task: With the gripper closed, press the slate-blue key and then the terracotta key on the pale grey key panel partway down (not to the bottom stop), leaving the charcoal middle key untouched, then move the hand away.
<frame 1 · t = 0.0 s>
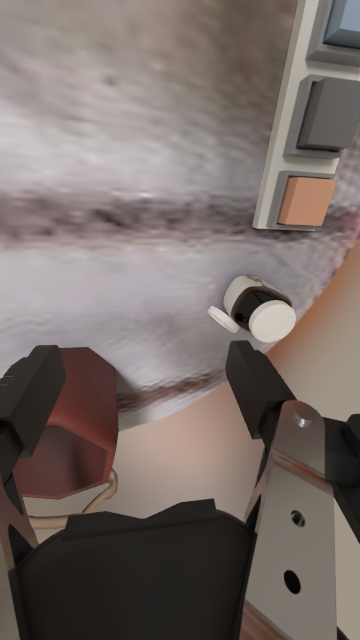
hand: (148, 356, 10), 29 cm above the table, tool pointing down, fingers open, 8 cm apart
spread jar: (236, 299, 43), on the table
terracotta key: (305, 202, 31), point 5 cm above the table, slide at 0.0 cm
bucket: (75, 376, 49), on the table
key panel: (306, 127, 30), on the table
charcoal key: (331, 117, 26), point 5 cm above the table, slide at 0.0 cm
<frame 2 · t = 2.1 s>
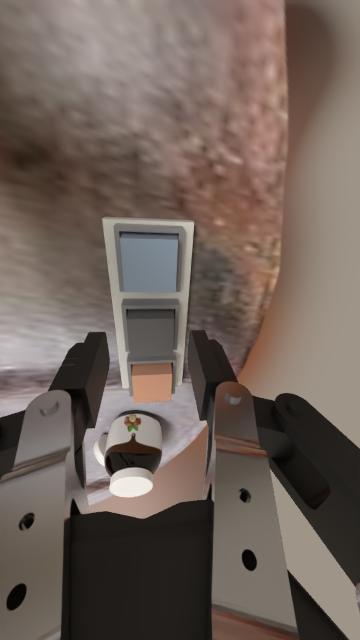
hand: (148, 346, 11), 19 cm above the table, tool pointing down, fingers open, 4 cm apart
spread jar: (129, 425, 45), on the table
slate key: (150, 264, 23), point 5 cm above the table, slide at 0.0 cm
terracotta key: (152, 382, 33), point 5 cm above the table, slide at 0.0 cm
key panel: (151, 314, 32), on the table
charcoal key: (151, 333, 28), point 5 cm above the table, slide at 0.0 cm
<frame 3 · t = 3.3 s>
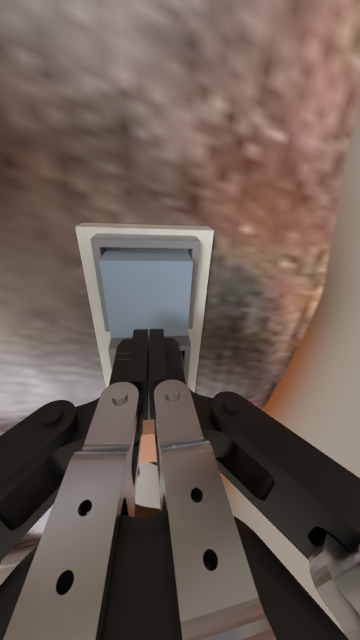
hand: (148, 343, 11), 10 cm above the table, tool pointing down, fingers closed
spread jar: (125, 469, 38), on the table
slate key: (148, 295, 16), point 5 cm above the table, slide at 0.0 cm
terracotta key: (153, 438, 25), point 5 cm above the table, slide at 0.0 cm
key panel: (151, 350, 24), on the table
charcoal key: (151, 383, 20), point 5 cm above the table, slide at 0.0 cm
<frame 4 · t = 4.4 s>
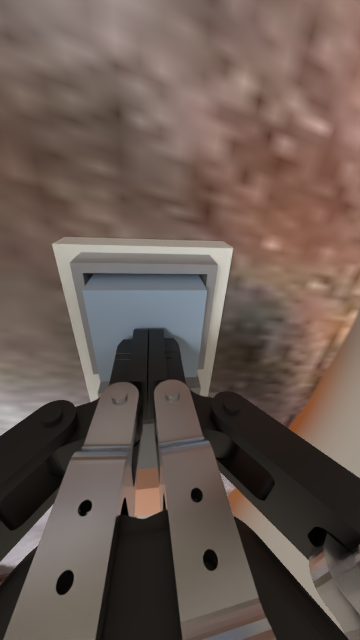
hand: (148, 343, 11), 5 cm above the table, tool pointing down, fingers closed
slate key: (148, 327, 12), point 4 cm above the table, slide at 0.6 cm, touching gripper
terracotta key: (153, 486, 21), point 5 cm above the table, slide at 0.0 cm
key panel: (151, 383, 20), on the table
charcoal key: (151, 431, 16), point 5 cm above the table, slide at 0.0 cm
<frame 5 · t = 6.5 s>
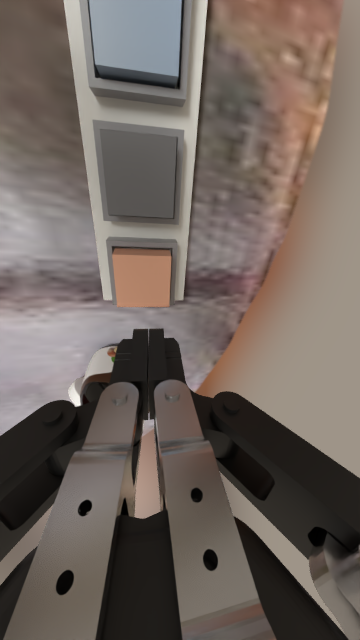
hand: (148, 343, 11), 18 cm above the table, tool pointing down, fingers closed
spread jar: (115, 366, 36), on the table
slate key: (137, 17, 14), point 4 cm above the table, slide at 0.8 cm
terracotta key: (143, 278, 23), point 5 cm above the table, slide at 0.0 cm
key panel: (142, 179, 23), on the table
charcoal key: (140, 178, 18), point 5 cm above the table, slide at 0.0 cm
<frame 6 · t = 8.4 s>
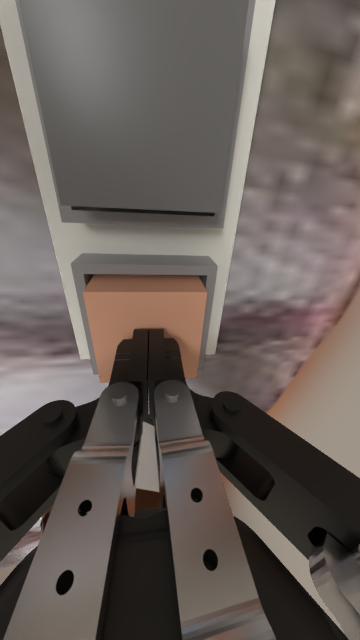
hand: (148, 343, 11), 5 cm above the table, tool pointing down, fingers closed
spread jar: (108, 437, 25), on the table
terracotta key: (148, 329, 12), point 4 cm above the table, slide at 0.5 cm, touching gripper
key panel: (145, 140, 11), on the table
charcoal key: (142, 113, 7), point 5 cm above the table, slide at 0.0 cm
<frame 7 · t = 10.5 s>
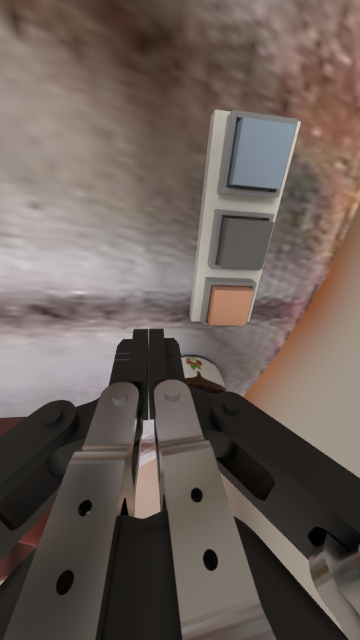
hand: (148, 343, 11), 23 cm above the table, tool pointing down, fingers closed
spread jar: (182, 373, 44), on the table
slate key: (258, 157, 24), point 4 cm above the table, slide at 0.8 cm
terracotta key: (228, 305, 33), point 4 cm above the table, slide at 0.7 cm
bucket: (26, 441, 49), on the table
key panel: (231, 237, 32), on the table
charcoal key: (243, 243, 28), point 5 cm above the table, slide at 0.0 cm
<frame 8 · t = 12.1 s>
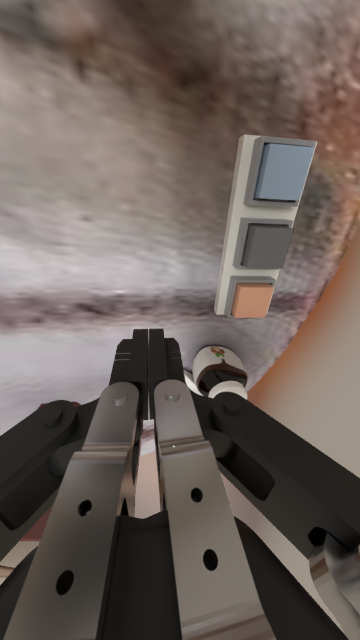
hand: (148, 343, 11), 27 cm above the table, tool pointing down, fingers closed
spread jar: (205, 361, 49), on the table
slate key: (280, 174, 28), point 4 cm above the table, slide at 0.8 cm
terracotta key: (250, 300, 37), point 4 cm above the table, slide at 0.7 cm
bucket: (65, 424, 55), on the table
key panel: (253, 240, 36), on the table
charcoal key: (266, 247, 32), point 5 cm above the table, slide at 0.0 cm
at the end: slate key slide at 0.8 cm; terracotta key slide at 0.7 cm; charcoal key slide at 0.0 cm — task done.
